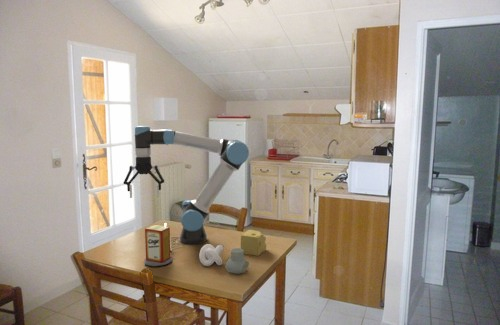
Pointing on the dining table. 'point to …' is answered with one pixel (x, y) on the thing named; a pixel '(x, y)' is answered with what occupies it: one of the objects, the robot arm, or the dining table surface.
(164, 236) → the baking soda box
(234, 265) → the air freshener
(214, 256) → the white knot sculpture
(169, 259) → the plate
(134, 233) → the dining table surface
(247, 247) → the cheese
